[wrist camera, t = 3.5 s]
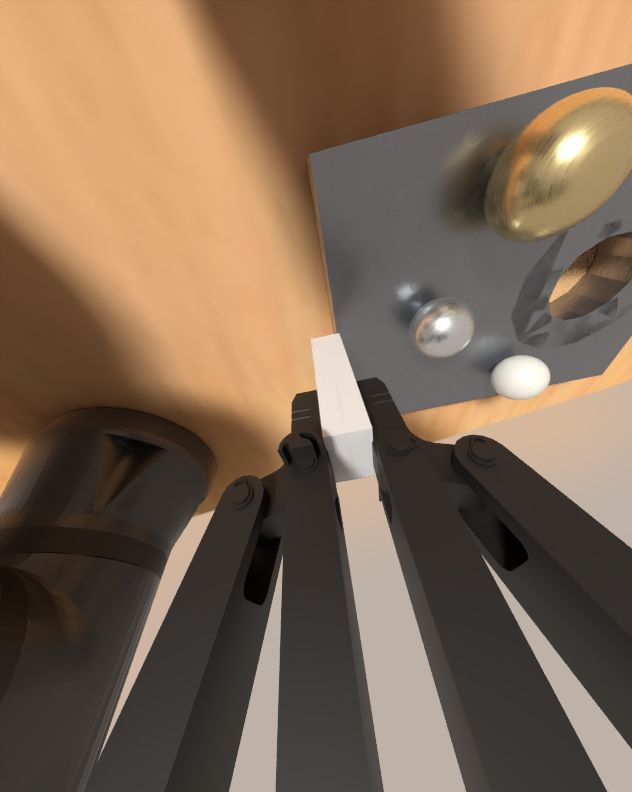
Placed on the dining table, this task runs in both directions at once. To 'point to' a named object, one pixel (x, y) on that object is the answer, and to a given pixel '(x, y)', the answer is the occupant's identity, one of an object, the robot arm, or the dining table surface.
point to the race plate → (463, 255)
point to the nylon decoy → (520, 377)
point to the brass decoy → (561, 166)
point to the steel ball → (442, 327)
